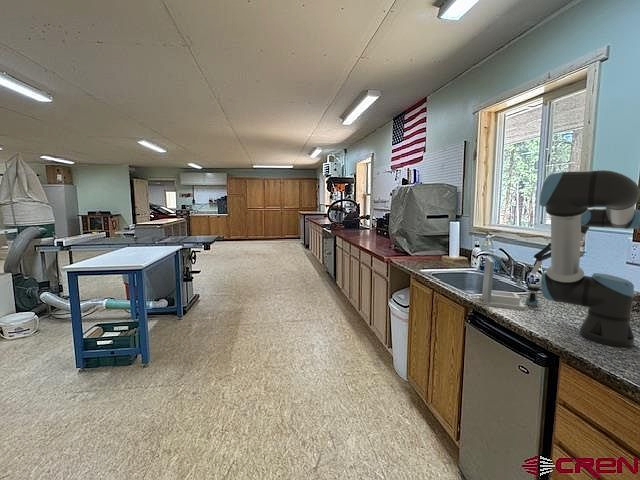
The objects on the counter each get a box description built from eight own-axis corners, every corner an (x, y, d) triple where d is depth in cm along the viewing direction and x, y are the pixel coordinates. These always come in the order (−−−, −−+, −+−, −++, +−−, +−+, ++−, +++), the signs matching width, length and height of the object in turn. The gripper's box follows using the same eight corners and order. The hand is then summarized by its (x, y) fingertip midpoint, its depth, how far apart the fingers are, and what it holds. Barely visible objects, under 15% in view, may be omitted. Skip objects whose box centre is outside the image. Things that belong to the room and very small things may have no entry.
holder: (524, 309, 153) (529, 264, 151) (486, 305, 158) (490, 261, 156) (516, 299, 170) (520, 258, 168) (482, 296, 175) (485, 256, 173)
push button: (540, 304, 162) (542, 285, 161) (542, 307, 158) (544, 287, 157) (524, 302, 165) (526, 283, 164) (525, 305, 161) (527, 285, 160)
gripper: (604, 252, 139) (576, 295, 144) (550, 231, 160) (527, 269, 166) (594, 248, 136) (566, 292, 141) (540, 227, 157) (518, 266, 163)
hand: (545, 280), depth 154 cm, fingers open, 13 cm apart
